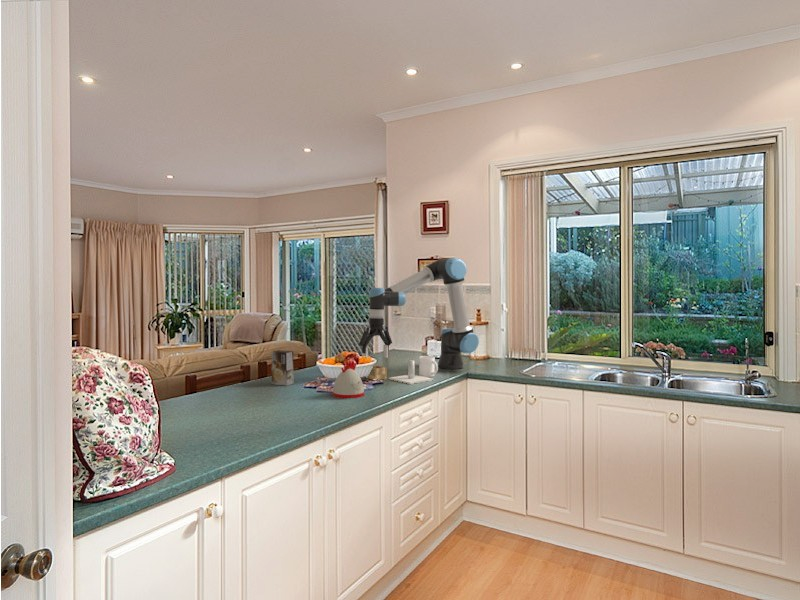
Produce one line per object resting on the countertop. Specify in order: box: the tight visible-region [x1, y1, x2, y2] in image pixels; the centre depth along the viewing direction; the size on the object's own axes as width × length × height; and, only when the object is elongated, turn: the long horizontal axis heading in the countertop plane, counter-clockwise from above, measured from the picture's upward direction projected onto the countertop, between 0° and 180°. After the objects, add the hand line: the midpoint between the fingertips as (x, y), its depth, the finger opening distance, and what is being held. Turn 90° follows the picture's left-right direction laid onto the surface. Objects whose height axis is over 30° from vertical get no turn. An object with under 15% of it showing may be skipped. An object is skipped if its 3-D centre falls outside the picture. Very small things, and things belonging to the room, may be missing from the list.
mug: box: [418, 355, 439, 378], centre depth 277 cm, size 12×8×10 cm
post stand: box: [388, 359, 434, 385], centre depth 267 cm, size 16×16×10 cm
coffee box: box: [270, 349, 295, 387], centre depth 253 cm, size 9×6×16 cm
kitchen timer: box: [332, 361, 365, 399], centre depth 232 cm, size 14×14×15 cm
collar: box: [368, 365, 388, 380], centre depth 270 cm, size 8×8×6 cm
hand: (375, 358), depth 269 cm, fingers open, 13 cm apart
